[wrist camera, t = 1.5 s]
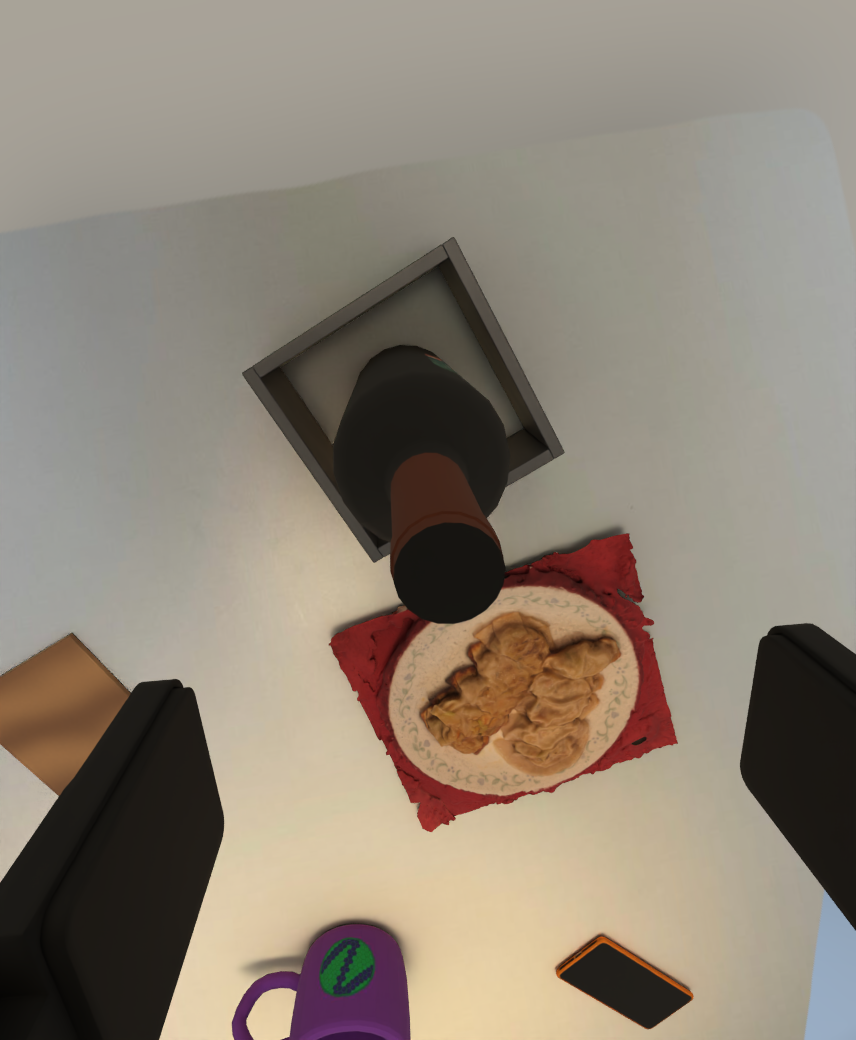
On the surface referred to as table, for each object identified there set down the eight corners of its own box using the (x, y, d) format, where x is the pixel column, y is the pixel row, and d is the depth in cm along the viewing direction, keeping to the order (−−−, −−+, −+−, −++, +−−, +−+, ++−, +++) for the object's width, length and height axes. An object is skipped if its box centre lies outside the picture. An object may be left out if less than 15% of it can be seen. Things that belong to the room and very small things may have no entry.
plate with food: (328, 626, 48) (323, 649, 45) (623, 525, 46) (640, 542, 43) (424, 819, 57) (425, 850, 54) (676, 741, 55) (693, 769, 52)
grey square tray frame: (264, 363, 41) (241, 373, 34) (442, 248, 39) (454, 236, 32) (375, 526, 45) (373, 563, 39) (538, 431, 44) (565, 452, 37)
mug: (403, 908, 60) (407, 1019, 51) (410, 980, 64) (414, 1094, 55) (235, 926, 59) (207, 1042, 50) (253, 997, 63) (230, 1117, 54)
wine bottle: (364, 334, 40) (316, 387, 12) (468, 357, 41) (644, 455, 13) (346, 438, 43) (272, 683, 15) (445, 457, 44) (553, 720, 16)
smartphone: (600, 932, 63) (603, 940, 63) (692, 990, 68) (696, 998, 67) (552, 970, 65) (554, 978, 64) (645, 1024, 70) (648, 1032, 69)
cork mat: (-41, 700, 48) (-45, 704, 48) (71, 632, 47) (68, 635, 46) (62, 792, 52) (59, 796, 52) (168, 732, 51) (166, 736, 50)
